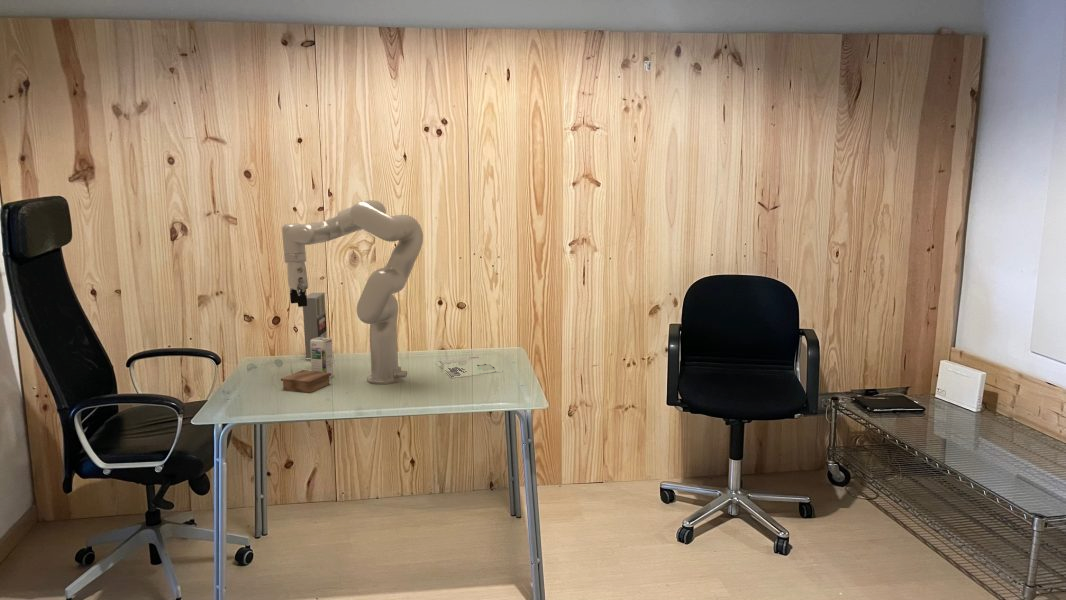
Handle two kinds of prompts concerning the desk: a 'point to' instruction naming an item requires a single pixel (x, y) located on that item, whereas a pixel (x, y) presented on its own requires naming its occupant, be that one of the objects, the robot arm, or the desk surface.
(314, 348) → the syrup box
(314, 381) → the walnut stand
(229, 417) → the desk surface
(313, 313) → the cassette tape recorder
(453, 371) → the office telephone
